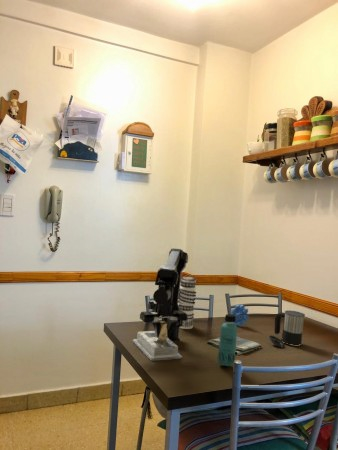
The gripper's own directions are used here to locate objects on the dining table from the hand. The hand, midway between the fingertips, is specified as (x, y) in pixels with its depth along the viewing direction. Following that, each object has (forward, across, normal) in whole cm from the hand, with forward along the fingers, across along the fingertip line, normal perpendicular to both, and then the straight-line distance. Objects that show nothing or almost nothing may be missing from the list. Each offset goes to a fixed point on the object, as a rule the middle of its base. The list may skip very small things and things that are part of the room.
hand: (162, 337), depth 154 cm
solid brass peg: (+2, 0, 0) cm, 2 cm away
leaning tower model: (+7, -27, -33) cm, 43 cm away
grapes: (+7, -58, -29) cm, 65 cm away
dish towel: (+8, -37, -3) cm, 38 cm away
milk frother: (+7, -64, 0) cm, 64 cm away
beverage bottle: (+7, -20, +17) cm, 27 cm away
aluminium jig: (+7, 0, -5) cm, 8 cm away
